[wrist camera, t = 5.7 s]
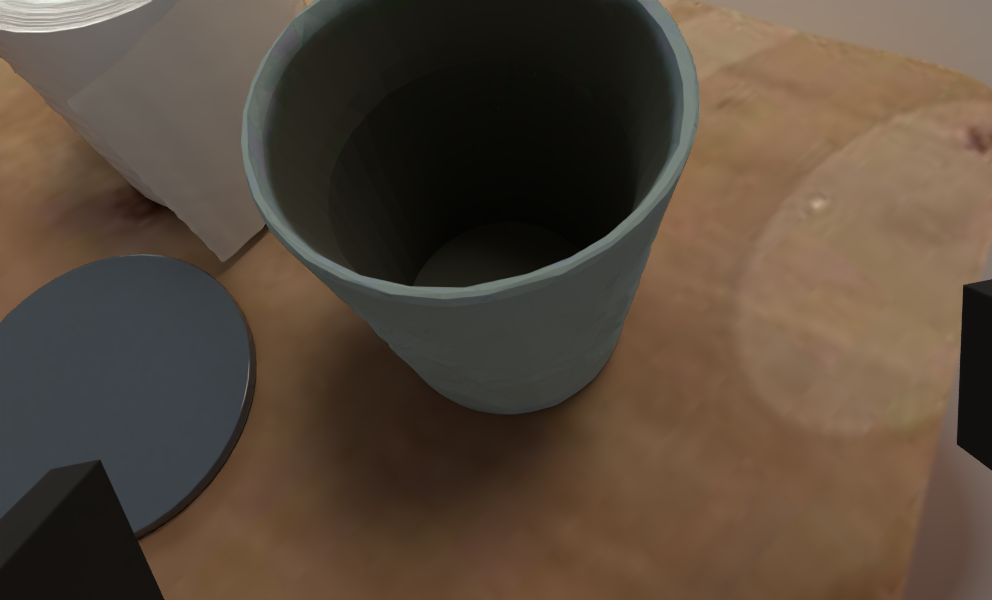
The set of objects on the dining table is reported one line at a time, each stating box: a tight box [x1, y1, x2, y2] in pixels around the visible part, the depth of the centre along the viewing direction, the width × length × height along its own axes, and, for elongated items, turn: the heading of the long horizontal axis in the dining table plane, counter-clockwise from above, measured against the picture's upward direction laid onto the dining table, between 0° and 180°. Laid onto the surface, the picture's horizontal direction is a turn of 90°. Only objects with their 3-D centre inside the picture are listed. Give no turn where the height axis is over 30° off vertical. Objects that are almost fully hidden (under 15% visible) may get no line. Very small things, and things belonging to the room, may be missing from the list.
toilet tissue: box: [0, 0, 308, 263], centre depth 26 cm, size 11×12×10 cm
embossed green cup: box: [241, 0, 699, 414], centre depth 20 cm, size 10×10×12 cm
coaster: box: [0, 254, 256, 539], centre depth 25 cm, size 12×12×1 cm
